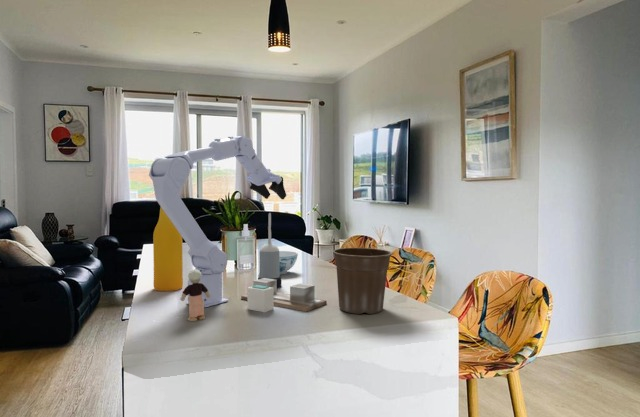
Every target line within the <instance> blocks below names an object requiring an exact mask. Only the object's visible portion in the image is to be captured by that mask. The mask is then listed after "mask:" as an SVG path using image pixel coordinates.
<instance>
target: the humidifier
mask: <svg viewBox="0 0 640 417" xmlns="http://www.w3.org/2000/svg"><path fill="white" fill-rule="evenodd" d="M267 216H268V224H267V225H268V226H267V230H268V234H267V235H268V241H267V243H265V244H263V246H262V247H260V250H259V276H258V277H257V280H258V279H262V278H267V279H274V280H277V289H279V288H281V287H282V277H281V276H280V275H279V251H280V249H279V247H278V246H277V245H276V244H274V243H273V242H272V229H271V228H272V213H271V212H269V213H268V215H267Z"/></svg>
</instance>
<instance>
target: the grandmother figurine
mask: <svg viewBox="0 0 640 417" xmlns="http://www.w3.org/2000/svg"><path fill="white" fill-rule="evenodd" d="M201 276H202V274H201V272H200V271H199V270H195V269H192V270H191V271H189V273H188V275H187V277H188V280H190V281H191V283H193V284H191V285H189V286H188V285H187V286H186V287H185V288H184V289H183V291H182V294H181V297H180V301H182V302H184V301H185V300H186V299H185V298H186V297H188V295H189V304H188V312H189V317H188V318H187V320H188V321H190V322H197V321H198V320H205V319H206V316H205V307H204V304H203V297H202V292H204V293H205V295H206V297H207V298H209V297H210V294H209V292H208V289H207V288H206V287H205V286H204V285H203V284H202V283H198V282H199V281H200V279H201V278H202V277H201Z"/></svg>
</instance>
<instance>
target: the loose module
mask: <svg viewBox="0 0 640 417" xmlns="http://www.w3.org/2000/svg"><path fill="white" fill-rule="evenodd" d="M246 295H247V300H246V301H247V304H246V305H247V310H251V311H255V312H256V311H257V312H260V313H266V312H269V311H272V310H274V308H275V307H274V288H272V287H267V286H261V285H256V286H253V285H251V286H249V287H247V292H246Z"/></svg>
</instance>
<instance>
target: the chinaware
mask: <svg viewBox="0 0 640 417" xmlns="http://www.w3.org/2000/svg"><path fill="white" fill-rule="evenodd" d="M298 254H299V253H297V252H296V251H291V250H290V251H288V250H286V251H285V250H279V276H280V275H287V274H288V271H290V270H291V269H292V268H293V267H294V266H295V264H296V262H297V259H298V256H299V255H298Z"/></svg>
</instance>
